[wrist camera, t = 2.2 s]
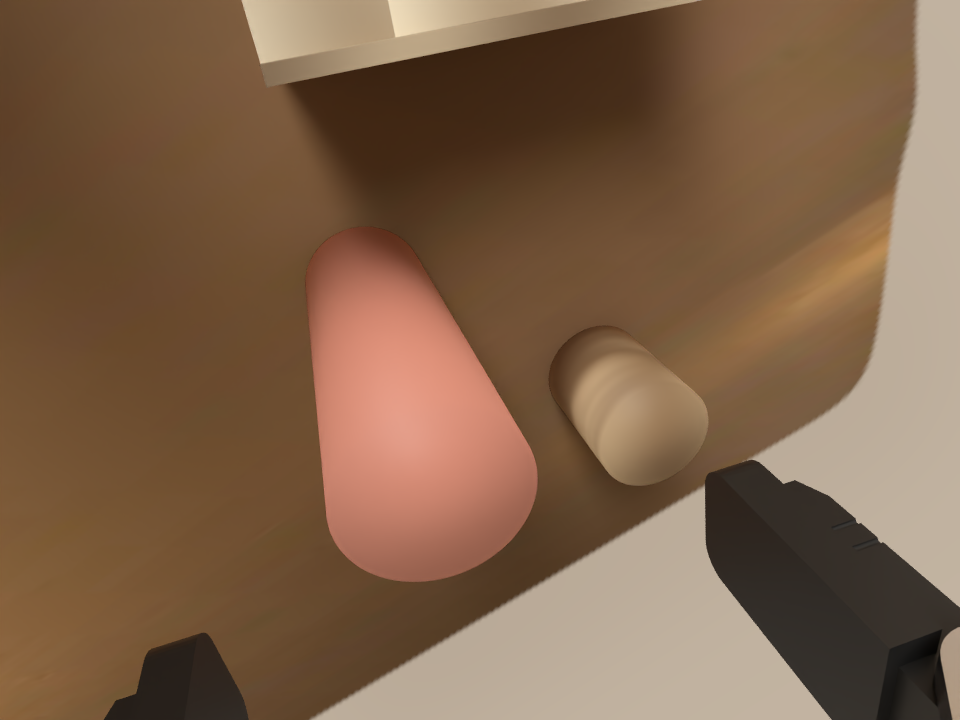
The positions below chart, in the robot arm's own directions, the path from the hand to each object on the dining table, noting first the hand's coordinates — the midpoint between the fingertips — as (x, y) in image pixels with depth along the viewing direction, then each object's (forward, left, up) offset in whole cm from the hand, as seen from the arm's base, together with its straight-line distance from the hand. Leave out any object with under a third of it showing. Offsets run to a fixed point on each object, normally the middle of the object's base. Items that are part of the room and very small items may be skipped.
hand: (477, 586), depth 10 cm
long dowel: (0, 0, -14) cm, 14 cm away
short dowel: (+8, -6, -14) cm, 17 cm away
